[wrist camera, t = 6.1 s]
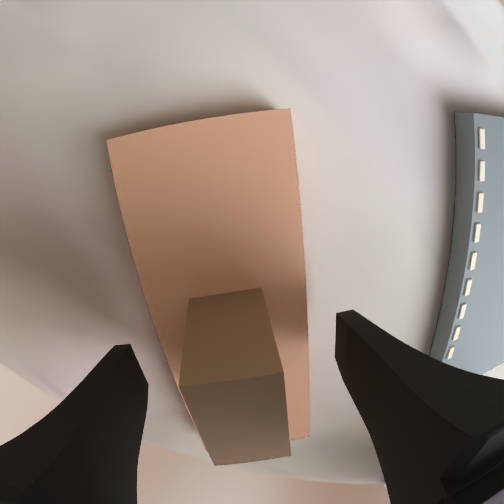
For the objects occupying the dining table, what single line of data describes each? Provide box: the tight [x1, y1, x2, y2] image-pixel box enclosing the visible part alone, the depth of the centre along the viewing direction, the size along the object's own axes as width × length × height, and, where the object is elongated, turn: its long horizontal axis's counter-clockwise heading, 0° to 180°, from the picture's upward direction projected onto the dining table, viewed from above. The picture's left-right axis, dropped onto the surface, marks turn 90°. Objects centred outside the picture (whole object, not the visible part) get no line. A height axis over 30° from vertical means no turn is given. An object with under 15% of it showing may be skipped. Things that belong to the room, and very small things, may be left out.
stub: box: [106, 108, 309, 466], centre depth 10 cm, size 15×5×5 cm, turn 7°
